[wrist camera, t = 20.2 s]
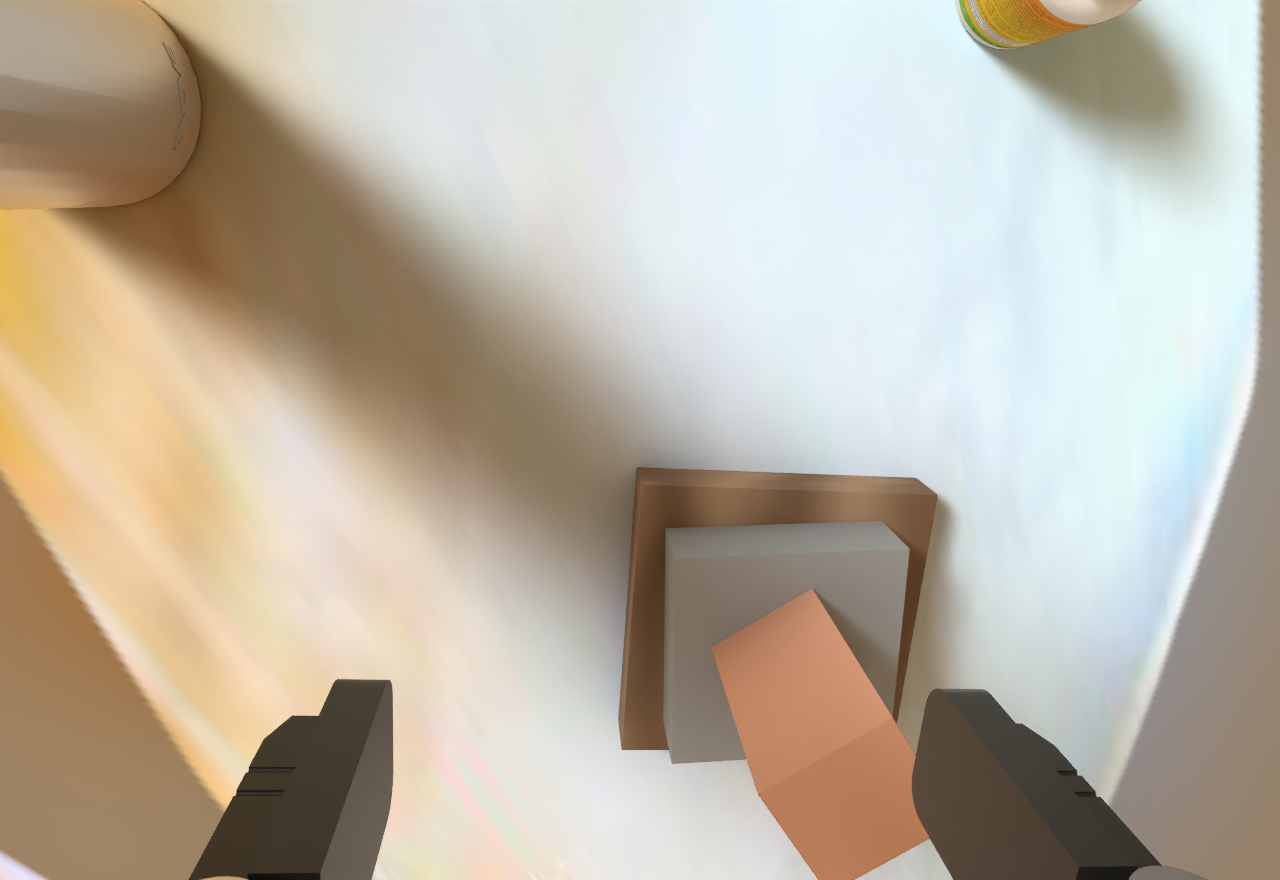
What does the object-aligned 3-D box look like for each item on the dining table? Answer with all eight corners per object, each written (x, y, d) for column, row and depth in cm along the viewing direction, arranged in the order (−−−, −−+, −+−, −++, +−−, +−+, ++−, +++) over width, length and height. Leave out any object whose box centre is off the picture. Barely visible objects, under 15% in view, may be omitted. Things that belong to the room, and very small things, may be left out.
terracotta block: (766, 729, 41) (828, 894, 31) (711, 647, 39) (758, 794, 30) (864, 673, 41) (957, 823, 31) (812, 588, 39) (892, 718, 29)
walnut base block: (617, 710, 48) (621, 749, 45) (635, 462, 44) (641, 484, 41) (869, 712, 50) (891, 750, 46) (909, 472, 45) (937, 495, 42)
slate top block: (663, 720, 44) (671, 763, 41) (665, 528, 41) (674, 558, 38) (864, 709, 45) (889, 750, 42) (881, 520, 42) (909, 548, 39)
